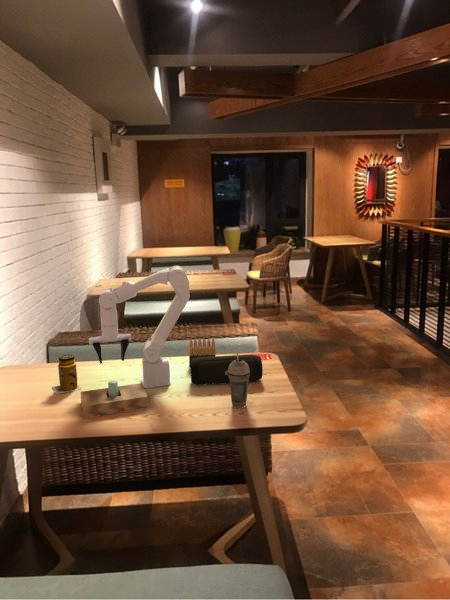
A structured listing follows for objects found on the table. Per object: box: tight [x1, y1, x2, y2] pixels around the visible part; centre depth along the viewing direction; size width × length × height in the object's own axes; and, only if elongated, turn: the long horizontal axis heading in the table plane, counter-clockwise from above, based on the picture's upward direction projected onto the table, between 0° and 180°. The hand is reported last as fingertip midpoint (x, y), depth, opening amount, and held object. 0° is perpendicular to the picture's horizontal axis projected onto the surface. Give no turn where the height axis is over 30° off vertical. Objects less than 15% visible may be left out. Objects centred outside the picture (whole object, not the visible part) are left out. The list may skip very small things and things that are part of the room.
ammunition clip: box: [188, 337, 217, 369], centre depth 196 cm, size 11×2×12 cm, turn 92°
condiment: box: [51, 353, 82, 395], centre depth 176 cm, size 7×8×12 cm
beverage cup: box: [228, 345, 250, 409], centre depth 159 cm, size 7×7×20 cm
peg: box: [107, 380, 118, 397], centre depth 162 cm, size 3×3×8 cm
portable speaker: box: [189, 354, 264, 386], centre depth 180 cm, size 26×10×10 cm, turn 97°
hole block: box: [80, 382, 149, 419], centre depth 162 cm, size 20×12×4 cm, turn 110°
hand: (111, 361), depth 176 cm, fingers open, 7 cm apart
